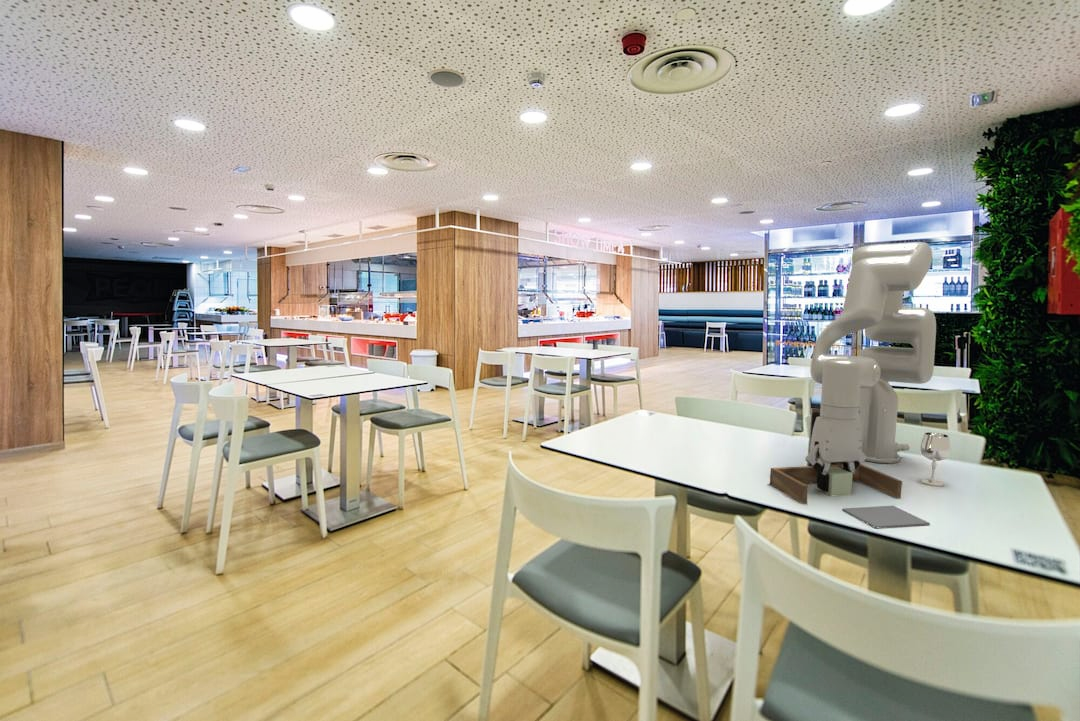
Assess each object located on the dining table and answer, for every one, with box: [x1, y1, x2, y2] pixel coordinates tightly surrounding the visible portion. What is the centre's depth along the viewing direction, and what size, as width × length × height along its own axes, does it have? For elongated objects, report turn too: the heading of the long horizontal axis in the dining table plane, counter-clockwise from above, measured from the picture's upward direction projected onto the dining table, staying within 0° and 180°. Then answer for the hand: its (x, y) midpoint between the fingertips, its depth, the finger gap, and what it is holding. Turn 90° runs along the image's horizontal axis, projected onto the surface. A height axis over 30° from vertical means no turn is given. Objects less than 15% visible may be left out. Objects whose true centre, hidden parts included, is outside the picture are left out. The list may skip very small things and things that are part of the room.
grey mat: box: [841, 505, 931, 529], centre depth 106 cm, size 12×9×1 cm
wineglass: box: [920, 431, 952, 487], centre depth 126 cm, size 6×6×12 cm
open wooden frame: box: [769, 463, 903, 504], centre depth 121 cm, size 24×12×4 cm, turn 98°
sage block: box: [817, 467, 853, 497], centre depth 121 cm, size 5×5×5 cm
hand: (833, 488), depth 121 cm, fingers closed on sage block, 5 cm apart
